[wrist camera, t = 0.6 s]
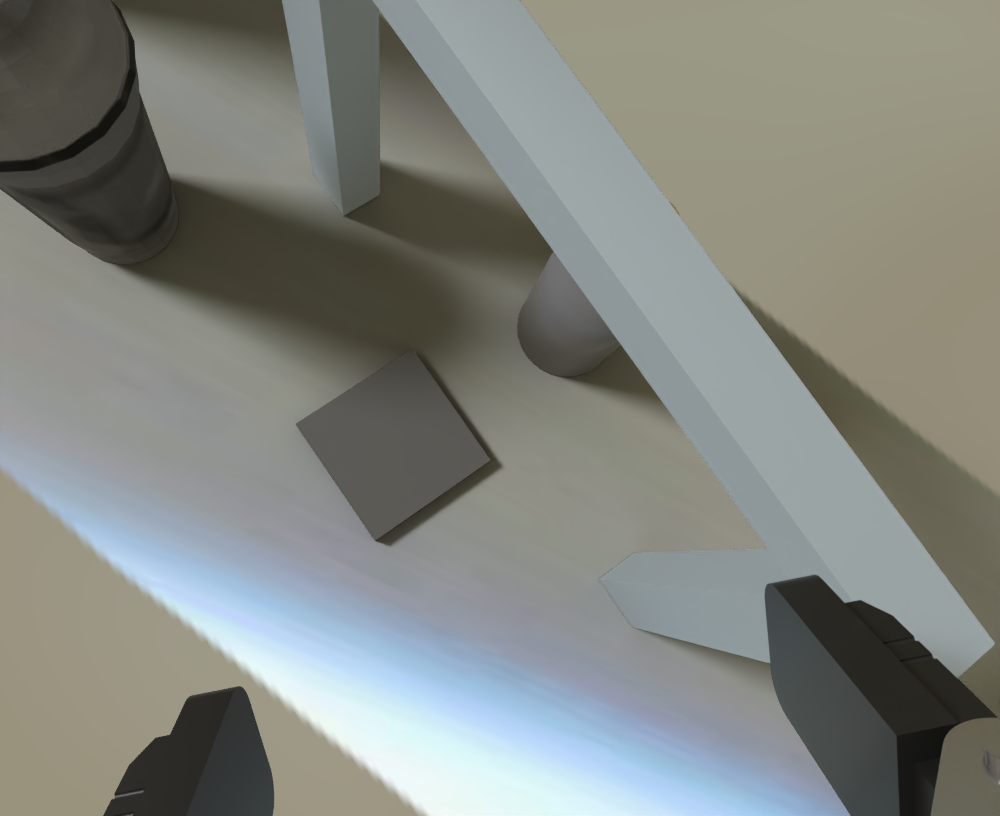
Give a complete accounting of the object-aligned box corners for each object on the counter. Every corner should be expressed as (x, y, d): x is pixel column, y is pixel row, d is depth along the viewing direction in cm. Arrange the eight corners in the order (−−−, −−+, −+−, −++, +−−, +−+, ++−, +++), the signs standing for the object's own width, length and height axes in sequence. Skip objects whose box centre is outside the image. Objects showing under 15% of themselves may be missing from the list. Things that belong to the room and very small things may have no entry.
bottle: (498, 315, 38) (550, 205, 26) (575, 265, 39) (659, 137, 27) (554, 395, 37) (633, 320, 26) (631, 343, 38) (740, 247, 27)
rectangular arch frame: (313, 172, 38) (238, -244, 18) (349, 151, 38) (315, -277, 19) (631, 627, 36) (927, 704, 16) (666, 599, 36) (994, 643, 17)
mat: (297, 426, 35) (295, 423, 35) (412, 351, 37) (412, 348, 36) (375, 541, 35) (375, 540, 34) (488, 461, 36) (490, 460, 36)
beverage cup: (243, 242, 37) (84, -120, 17) (91, 326, 35) (-272, 31, 16) (156, 112, 37) (-92, -383, 18) (4, 188, 36) (-454, -263, 16)
